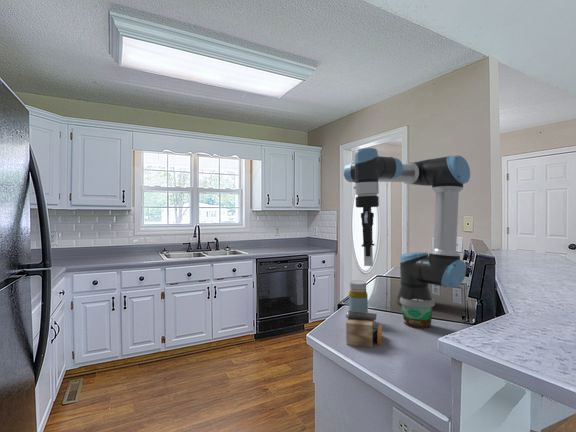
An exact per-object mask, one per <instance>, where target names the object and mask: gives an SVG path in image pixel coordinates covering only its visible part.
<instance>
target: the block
mask: <svg viewBox="0 0 576 432" xmlns="http://www.w3.org/2000/svg"><path fill="white" fill-rule="evenodd" d="M353 312H354V311H353ZM363 313H366V312H363ZM372 313H373V314H375V313H374V312H372ZM375 321H376V320H369V319H360V318H350V317H349V318H347V320H346V323H345V324H346V325H345V326H346V327H345V330H346V331H345V332H346V333H345V334H346V340H345V341H346V345H347V346H349V345H350V346H357V347H364V348H373V346H374V341H373V328H376V326H375Z"/></svg>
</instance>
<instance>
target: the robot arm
mask: <svg viewBox="0 0 576 432" xmlns="http://www.w3.org/2000/svg"><path fill="white" fill-rule="evenodd" d="M343 177H344V179H345V180H346V182H348V183H355V185H354V186H353V189H354V190H355V195H356V197H355V207H356V208H362V212H361V213H360V218H361V226H362V241H363V242H362V244H361V247H363V263H364V264H363V265H364V267H373V266H374V260H373V259H374V257H373V256H374V255H373V254H374V253H373V250H374V249H373V247H374V246H375V243H373V242H374V240H373V226H374V217H375V214H374V213H375V212H373V211H372V208H378V207H379V202H380V199H379V196H378V194H379V193H380V191H379V182H382V183H383V182H386V183H387V182H388V183H389V182H391V183H393V182H394V183H403V184H405V185H415V186H416V185H417V186H425V187H430V186H431V187H432V188H431V189H432V190H433V191H434V192H435V202H434V203H435V205H434V221H433V222H434V226H433V227H434V229H433V245H432V246H433V247H432V248H433V249H431V251H429V252H427V251H420V252H419V251H417V252H416V251H415V252H407V253H402V254H401V255H400V261H399V266H400V267H399V268H400V287H399V290H398V294H397V296H396V303H397V304H398V305H400V306H402V304H401V303H400V298H401V297H402V298H404V299H421V300H428V301H431V300H433V298H432V294H431V291H430V288H429V285H434V286H439V287H443V288H451V289H455V288H456V289H457V288H458V287H459V286H461V285H462V284H463V282H464V280H465V277H466V274H467V265H466V263H465V262H464V261H463V260H462V259H461V254H460V253H459V252H458V251H457V242H458V240H457V239H458V237H457V236H458V219H459V217H458V216H459V214H458V213H459V193H460V192H461V191H462V190H463V189H464V184H467V183H468V182H469V181H470V178H471V169H470V166H469V163H468V161H467V160H466V158H465V157H463V156H462V155H447V156H444V157H443V156H442V157H436V158H429V159H424V160H419V161H413V162H410V161H409V162H406V163H403V162H402V161H401V160H400V158H397V157H393V156H380V155H379V153H378V149H376V148H373V147H368V148H367V147H366V148H358V149H357V150H355V152H354V159H353V162H351V163H350V162H349V163H347V164H346V165H345V166H344V169H343Z"/></svg>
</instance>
